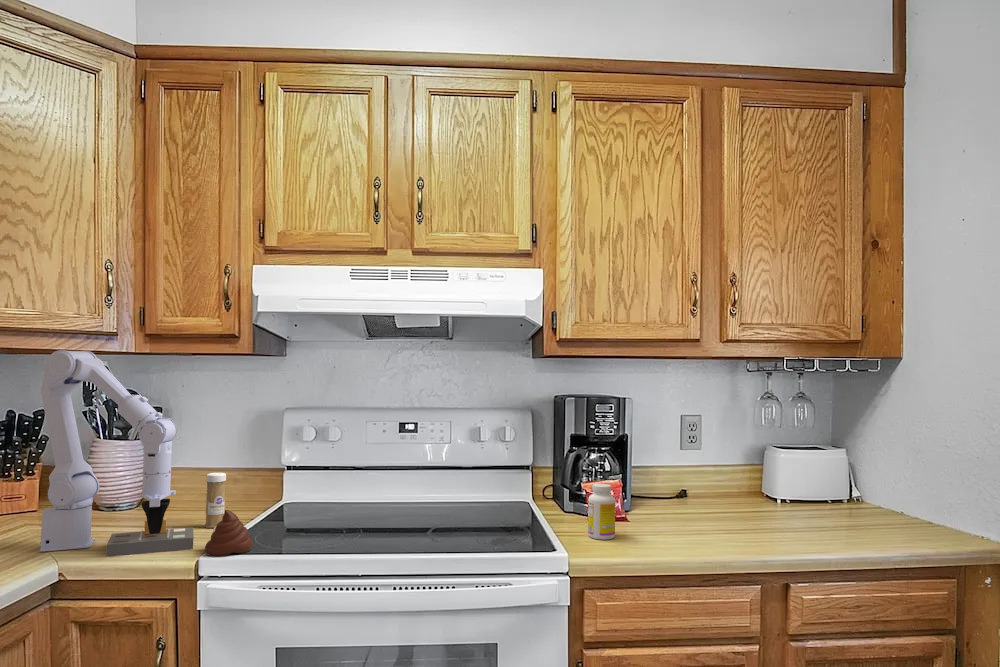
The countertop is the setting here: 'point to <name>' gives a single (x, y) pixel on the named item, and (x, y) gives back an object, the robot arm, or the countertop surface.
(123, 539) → the grey block
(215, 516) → the sprinkles bottle
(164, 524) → the block
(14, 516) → the countertop surface
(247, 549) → the poop emoji
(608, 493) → the supplement bottle
